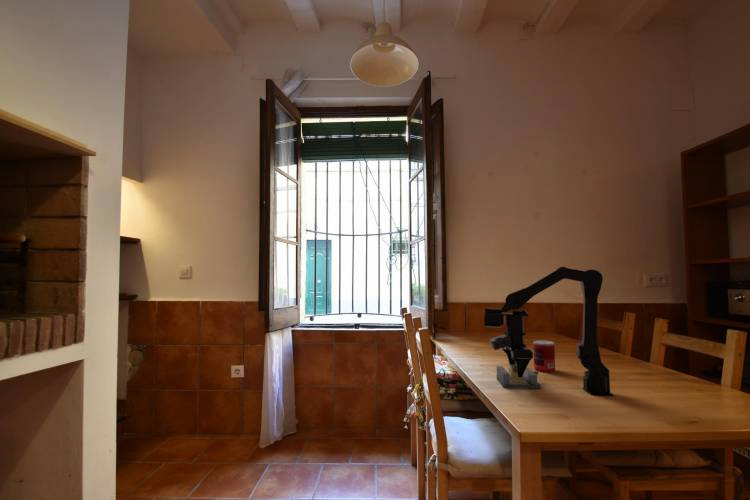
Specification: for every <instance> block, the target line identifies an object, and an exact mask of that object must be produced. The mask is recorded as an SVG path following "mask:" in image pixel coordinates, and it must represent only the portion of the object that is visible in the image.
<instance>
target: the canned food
mask: <svg viewBox="0 0 750 500" xmlns="http://www.w3.org/2000/svg"><path fill="white" fill-rule="evenodd" d="M555 348H556V347H555V342H554V341H549V340H543V339H542V340H534V341H533V348H532V349H533V367H534V368H533V369H534V370H535V371H538V372H540V373H541V372H542V373H554V372H555V370H556V351H555Z"/></svg>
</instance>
